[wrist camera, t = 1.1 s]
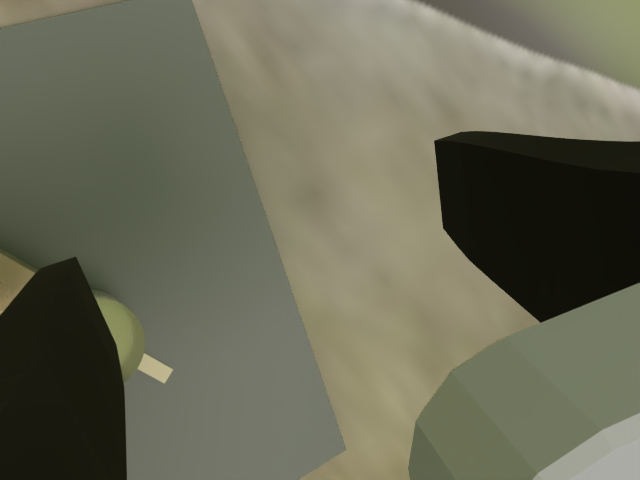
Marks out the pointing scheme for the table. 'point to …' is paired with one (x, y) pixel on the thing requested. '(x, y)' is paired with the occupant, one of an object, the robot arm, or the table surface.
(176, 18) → the dial plate
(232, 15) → the table surface
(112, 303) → the brass lever
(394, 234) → the table surface
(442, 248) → the table surface
